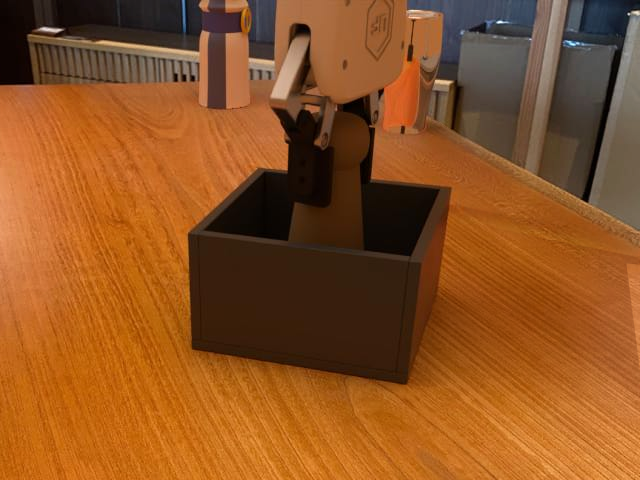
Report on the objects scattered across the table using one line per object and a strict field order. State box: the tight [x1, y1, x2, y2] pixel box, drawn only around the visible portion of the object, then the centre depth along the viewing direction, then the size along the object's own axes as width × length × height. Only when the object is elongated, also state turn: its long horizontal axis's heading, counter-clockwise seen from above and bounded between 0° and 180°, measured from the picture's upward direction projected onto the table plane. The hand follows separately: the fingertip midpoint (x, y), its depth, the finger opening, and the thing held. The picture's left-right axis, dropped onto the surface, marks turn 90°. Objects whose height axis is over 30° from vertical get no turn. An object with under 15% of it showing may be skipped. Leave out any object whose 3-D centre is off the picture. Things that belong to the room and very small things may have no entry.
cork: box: [288, 110, 370, 251], centre depth 60 cm, size 6×6×11 cm
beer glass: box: [381, 9, 444, 135], centre depth 104 cm, size 7×7×15 cm
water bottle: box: [198, 0, 252, 110], centre depth 119 cm, size 8×9×25 cm
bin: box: [187, 167, 453, 385], centre depth 63 cm, size 16×16×9 cm
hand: (329, 188), depth 59 cm, fingers closed on cork, 5 cm apart
